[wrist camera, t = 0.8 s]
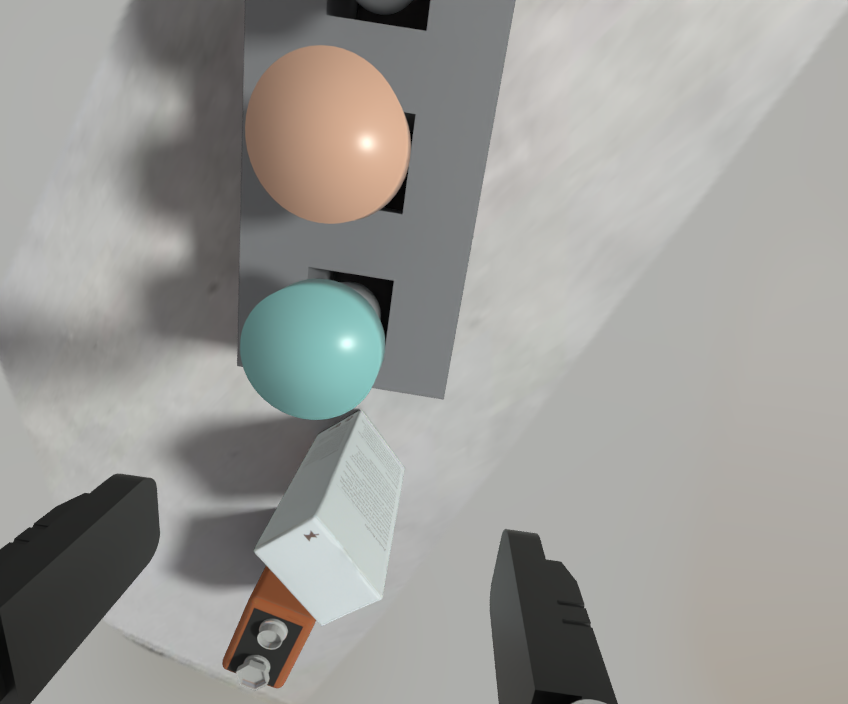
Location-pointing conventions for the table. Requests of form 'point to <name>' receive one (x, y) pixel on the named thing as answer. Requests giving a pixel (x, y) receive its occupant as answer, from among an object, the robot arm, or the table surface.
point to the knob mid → (327, 135)
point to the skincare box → (337, 521)
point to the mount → (426, 183)
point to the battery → (268, 635)
